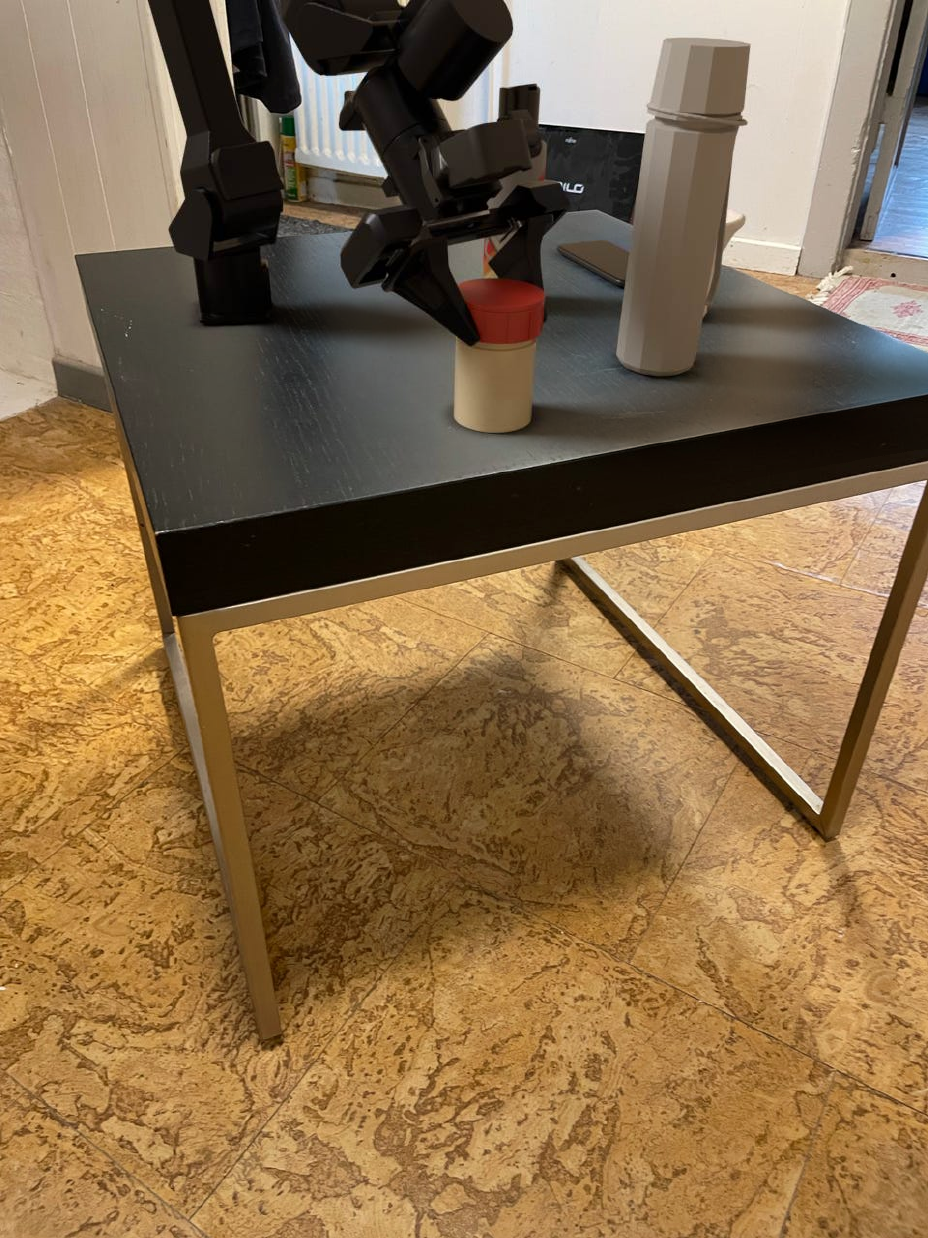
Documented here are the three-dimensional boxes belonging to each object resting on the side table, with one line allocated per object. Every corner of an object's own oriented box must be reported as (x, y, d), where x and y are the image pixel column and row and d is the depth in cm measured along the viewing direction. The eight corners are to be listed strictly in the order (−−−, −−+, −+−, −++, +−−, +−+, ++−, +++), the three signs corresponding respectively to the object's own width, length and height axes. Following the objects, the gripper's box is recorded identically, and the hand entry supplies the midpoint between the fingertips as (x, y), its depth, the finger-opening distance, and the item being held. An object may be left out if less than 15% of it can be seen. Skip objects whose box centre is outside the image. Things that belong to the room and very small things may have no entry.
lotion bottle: (512, 314, 94) (525, 87, 82) (470, 301, 97) (476, 81, 86) (547, 302, 98) (563, 82, 86) (505, 290, 101) (515, 77, 89)
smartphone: (675, 282, 105) (605, 245, 115) (677, 274, 104) (605, 238, 115) (619, 289, 102) (552, 251, 113) (620, 281, 101) (553, 243, 112)
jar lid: (558, 325, 71) (561, 289, 70) (511, 351, 67) (514, 313, 65) (483, 306, 74) (484, 272, 73) (433, 330, 70) (434, 293, 68)
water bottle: (647, 386, 81) (700, 48, 66) (596, 355, 86) (634, 36, 71) (730, 370, 84) (798, 46, 69) (676, 341, 90) (728, 35, 75)
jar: (462, 435, 72) (465, 320, 67) (447, 402, 77) (449, 292, 71) (539, 430, 73) (549, 317, 68) (520, 398, 78) (527, 290, 73)
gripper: (357, 74, 58) (470, 300, 58) (565, 58, 68) (661, 251, 68) (296, 187, 67) (393, 382, 67) (487, 158, 77) (571, 328, 77)
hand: (509, 333), depth 70 cm, fingers closed on jar lid, 6 cm apart
